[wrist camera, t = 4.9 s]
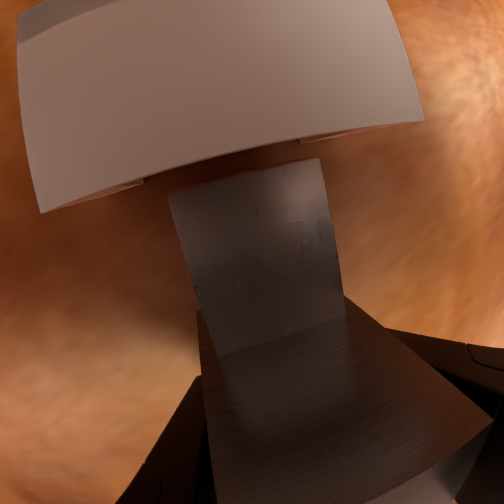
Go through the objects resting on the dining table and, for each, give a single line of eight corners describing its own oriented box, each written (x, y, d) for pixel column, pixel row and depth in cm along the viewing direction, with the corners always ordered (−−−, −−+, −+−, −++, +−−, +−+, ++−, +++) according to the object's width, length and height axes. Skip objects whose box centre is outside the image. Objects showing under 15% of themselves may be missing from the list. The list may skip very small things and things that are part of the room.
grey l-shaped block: (343, 478, 13) (396, 573, 6) (275, 502, 12) (313, 605, 6) (294, 159, 8) (529, 145, 2) (160, 193, 8) (35, 267, 1)
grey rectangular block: (335, 137, 9) (424, 120, 5) (105, 196, 8) (40, 213, 4) (303, 23, 8) (364, -44, 4) (79, 71, 7) (17, 14, 3)
